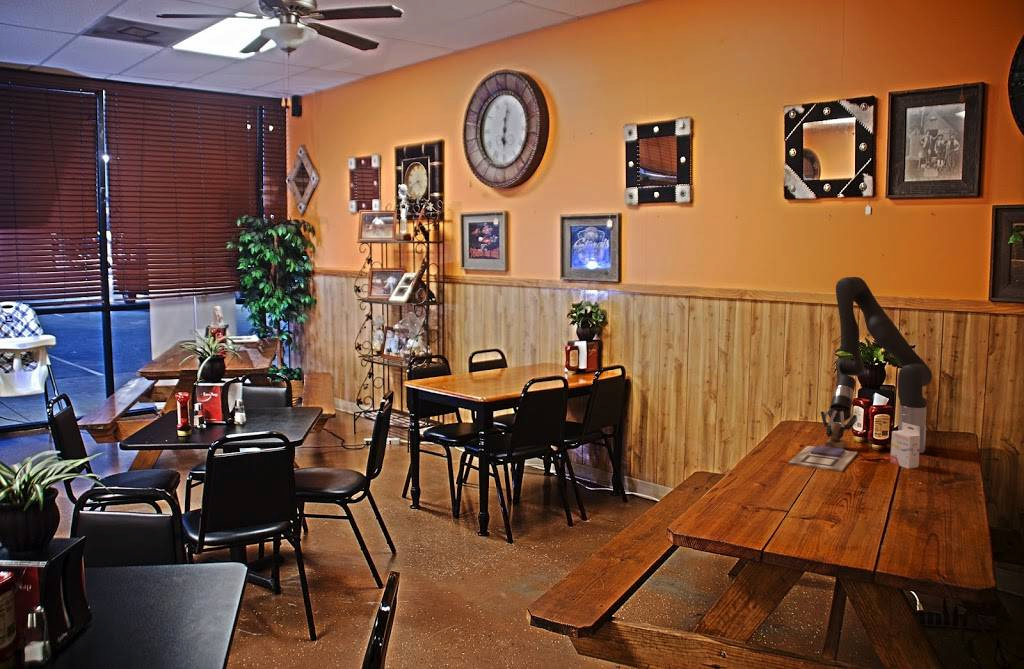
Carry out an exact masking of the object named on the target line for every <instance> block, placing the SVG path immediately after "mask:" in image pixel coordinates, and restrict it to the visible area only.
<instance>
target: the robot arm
mask: <svg viewBox="0 0 1024 669" xmlns="http://www.w3.org/2000/svg"><path fill="white" fill-rule="evenodd" d="M835 296H836V303H837V308H838V315H839V322H840V350H841V352H843V353H847V354H850V355H852V357H840V358H838V359H837V360H836V361H835V362H836V363H835V369H836V370H835V371H836V382H835V388H834V392H833V393H832V397H831V403H830V406H829V410H827V411H820V417H821V420H822V424H823V427H824V428H826V436H827V437H828V438H831V424H832V423H838V424H841V427H840V431H839V438H840V439H842V438H843V437H844V434H845V431H846V430H847V431H850V430H851V429H852V428H853V427H854V425H855V424H856V423H857V421H858V416H857V415H856V414H852V412H851V410H852V406H853V403H854V398H855V396H854V395H855V394H854V393H855V388H856V385H857V384H856V383H857V381H856V379H855V378H854V376H855V377H859V376H862V374H863V373H864V371H865V365H864V360H863V358H862V354H861V353H862V352H861V349H860V348H861V347H860V328H859V325H858V324H859V323H858V322H857V319H856V316H855V312H854V303H855V304H856V305H857V307H858V308H859V309H860V310H861V312H862V314H863V317H864V324H865V326H866V327H865V328H866V329H867V331H868V333H869V335H870V336H871V337H872V338H873V340H874V341H875V343H877V345H878V346H879V347H881V349H883V350H884V351H885V352H887V353H888V354H889V355H891V356H892V357H894V359H896V361H897V362H898V363H899V364H900V365H901V368H900V370H899V371H898V377H897V397H898V400H899V409H898V411H899V412H898V427H897V429H898V430H897V431H899V430H902V422H904V423H908V424H911V425H915V426H919V427H920V449H919V454H923V453H924V452H925V451H926V439H927V438H926V436H927V425H926V423H927V410H928V409H927V408H928V407H927V406H928V405H927V404H928V401H927V398H925V397H924V396H923V388H924V387H926V386H929V385H930V383H931V382H932V381H933V372H932V370H931V368H930V367H929V366H928V365H927V363H926V362H925V361H924V360H923V359H922V358H921V357H920V356H919V355H918V353H916V351H915V350H914V349H913V348H912V347H911V345H910V344H909V342H908V341H907V340H906V339H905V337H904V336H903V334H902V333H901V332H900V330H899V329H898V327H897V325H895V324H894V322H893V321H892V319H891V318H890V316H888V314H887V313H886V312H885V310H884V309H883V308H882V306H881V304H879V302H878V301H877V299H876V298H875V296H874V294H873V293H872V290H871V289H870V287H869V286H868V284H867V283H866V281H865V280H864V279H863V278H862V277H857V276H849V277H848V276H847V277H841V278H840V279H839V280H838V281H837V282H836V285H835ZM852 376H853V377H852ZM828 416H829V421H827V417H828ZM849 419H850V420H849ZM848 420H849V421H848ZM846 421H848V422H847V424H846ZM908 429H912V430H914V428H912V427H908Z"/></svg>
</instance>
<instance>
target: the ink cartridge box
mask: <svg viewBox="0 0 1024 669" xmlns="http://www.w3.org/2000/svg"><path fill="white" fill-rule="evenodd" d="M908 427H912V428H914V430H912V429H908ZM919 449H920V427H919V426H915V425H911V424H908V423H904V422H902V430H899V431H898V430H893V431H892V430H891V443H890V461H889V462H890V464H894V465H896V466H899V467H902V468H906V469H909V470H910V469H916V468H919V464H920V462H919V461H920V453H919Z"/></svg>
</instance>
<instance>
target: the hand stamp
mask: <svg viewBox="0 0 1024 669" xmlns="http://www.w3.org/2000/svg"><path fill="white" fill-rule="evenodd" d="M840 427H841V423H839V422H835V423H832V424H831V436H830V438H827V439H826V440H825V442H824V447H832V448H840V449H846V448H845V447H846V446H845V445H846V440H844V439H841V438H839V431H840Z"/></svg>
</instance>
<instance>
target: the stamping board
mask: <svg viewBox="0 0 1024 669" xmlns="http://www.w3.org/2000/svg"><path fill="white" fill-rule="evenodd" d="M857 455H858V451H850V450H846V448H844V449H840V448H832V447H825V445H816V446H815V445H814V446H812V445H807V446H805V447H804V448H803V449H802V450H801V451H800V452H799V453H798V454H796V455H795V456H793V458H792V459H790V460H789V461H788V465H791V466H797V467H798V466H799V467H804V468H812V469H819V470H824V471H832V472H843V471H844V470H845V469H846V467H847V466H849V464H850V463H851V462H852V461H853V460H854V458H855V457H856V456H857Z"/></svg>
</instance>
